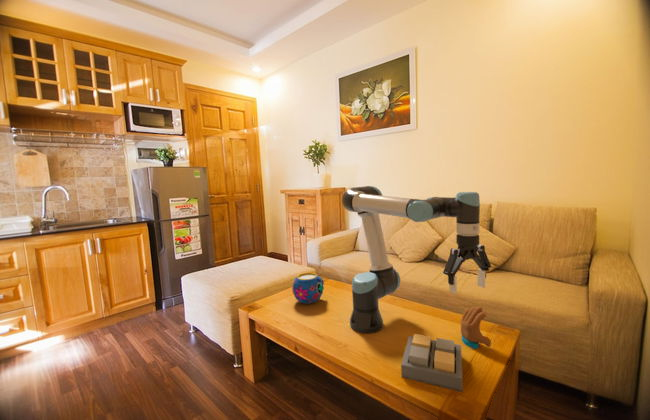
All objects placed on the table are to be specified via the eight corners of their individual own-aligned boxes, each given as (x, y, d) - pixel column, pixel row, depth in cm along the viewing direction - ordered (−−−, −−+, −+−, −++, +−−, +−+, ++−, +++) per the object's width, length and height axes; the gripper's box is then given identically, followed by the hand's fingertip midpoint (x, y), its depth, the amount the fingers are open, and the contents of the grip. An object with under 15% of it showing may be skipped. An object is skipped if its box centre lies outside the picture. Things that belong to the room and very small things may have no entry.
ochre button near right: (434, 371, 90) (434, 360, 90) (435, 360, 96) (435, 350, 95) (454, 376, 88) (454, 364, 87) (454, 364, 93) (454, 353, 93)
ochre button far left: (412, 352, 101) (412, 342, 101) (414, 343, 106) (414, 333, 106) (429, 356, 98) (429, 345, 98) (431, 346, 104) (430, 336, 103)
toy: (492, 352, 103) (492, 314, 102) (475, 354, 103) (475, 316, 101) (472, 334, 115) (472, 300, 114) (456, 336, 115) (456, 301, 113)
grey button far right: (435, 357, 98) (435, 346, 97) (436, 347, 103) (436, 337, 103) (454, 361, 95) (454, 350, 95) (454, 351, 100) (454, 340, 100)
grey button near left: (409, 366, 94) (408, 355, 93) (411, 355, 99) (411, 345, 99) (427, 370, 91) (427, 359, 91) (429, 359, 97) (429, 348, 96)
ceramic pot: (324, 307, 148) (322, 280, 146) (291, 309, 148) (289, 282, 146) (324, 294, 165) (323, 270, 163) (295, 295, 165) (293, 271, 164)
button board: (401, 377, 93) (401, 364, 93) (409, 346, 110) (409, 335, 109) (462, 392, 85) (462, 378, 85) (461, 356, 102) (461, 345, 101)
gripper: (447, 239, 94) (448, 299, 96) (502, 232, 101) (501, 287, 104) (432, 236, 101) (433, 291, 103) (484, 229, 108) (484, 280, 111)
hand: (467, 289), depth 103 cm, fingers open, 13 cm apart
